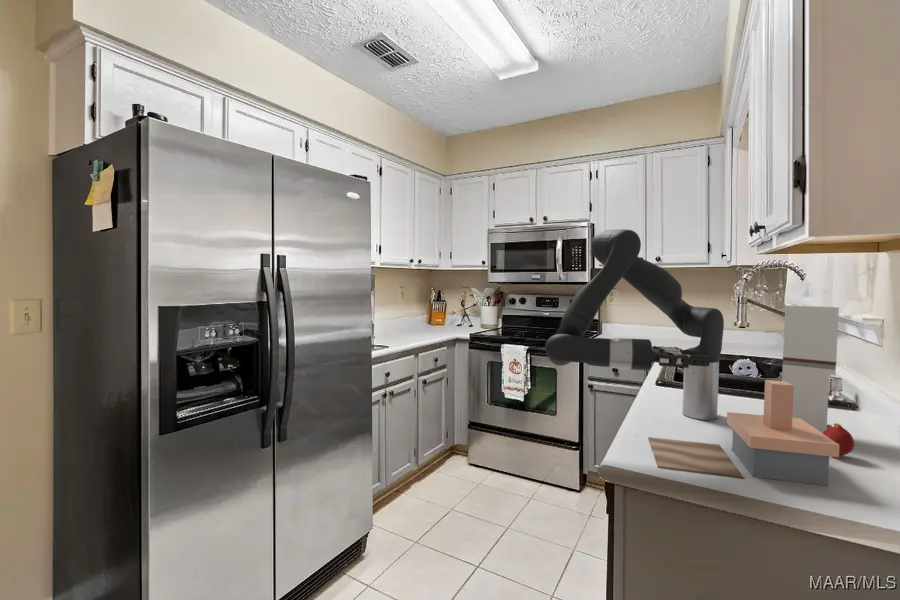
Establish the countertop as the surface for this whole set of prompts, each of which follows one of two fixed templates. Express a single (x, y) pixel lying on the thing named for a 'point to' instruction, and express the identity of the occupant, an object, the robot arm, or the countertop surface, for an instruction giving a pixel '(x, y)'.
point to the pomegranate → (840, 438)
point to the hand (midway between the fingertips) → (704, 358)
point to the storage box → (782, 463)
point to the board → (693, 457)
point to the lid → (781, 425)
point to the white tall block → (810, 359)
